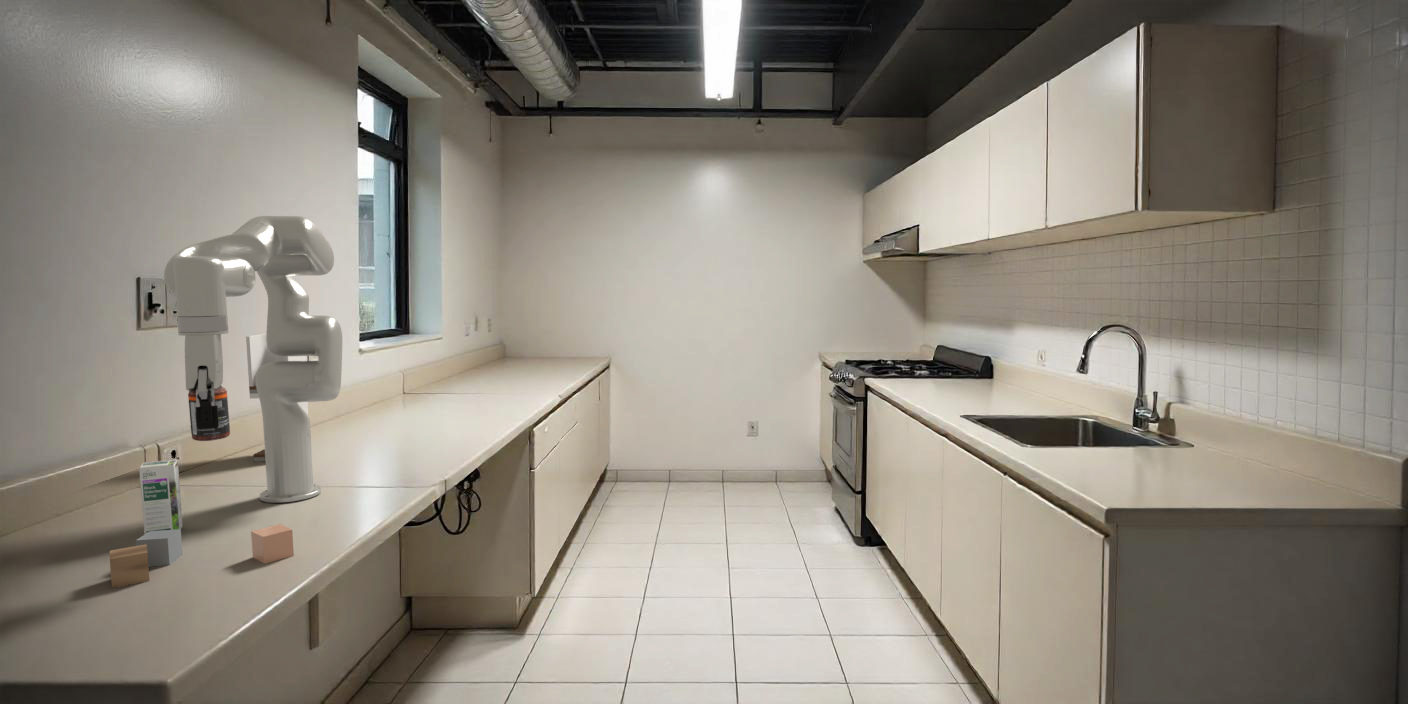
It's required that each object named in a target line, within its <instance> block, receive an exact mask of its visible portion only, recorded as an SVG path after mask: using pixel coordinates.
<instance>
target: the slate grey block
mask: <svg viewBox="0 0 1408 704" xmlns="http://www.w3.org/2000/svg"><path fill="white" fill-rule="evenodd" d="M145 544H147V553H148V566H149V568H151V567H160V566H161V567H163V566H170V565H172V564H173V563H174V562H175V561H177V560H178V559H180V558H181V557H182V556H183V543H182V529H176V530H161V531H149V532H148V533H146V534H145V535H144V534H143V535H142V536H140V537H139V538H137V539H135V546H139V545H145ZM180 556H181V557H180Z"/></svg>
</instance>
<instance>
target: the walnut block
mask: <svg viewBox="0 0 1408 704" xmlns="http://www.w3.org/2000/svg"><path fill="white" fill-rule="evenodd" d="M109 567H110V576H111V577H110V578H111V588H112V589H115V588H120V587H124V586H123V585H125V586H129V585H128V584H130V585H135V584H139V582H140V583H144V581H145V582H149V581H150V571H149V569H150V567H149V566H148V553H147V544H145V545H139V546H136V545H135V546H128V547H124V548H117V549H112V550H109ZM134 583H135V584H134ZM119 586H120V587H119ZM114 587H115V588H114Z"/></svg>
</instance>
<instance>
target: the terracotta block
mask: <svg viewBox="0 0 1408 704" xmlns="http://www.w3.org/2000/svg"><path fill="white" fill-rule="evenodd" d="M250 533H251V535H250V537H251V549H252V551H251V552H252V558H253V559H255V560H257V561H259V562H261V563H262V564H263V565H264V564H268V563H272V562H275V561H279V560H282V559H286V558H290V557H291V558H292V557H293V556H295V553H294V541H293V540H294V537H293V529H292V528H289V527H287V526H285V525H284V524H283V525H282V524H275V525H271V526H268V527H264V528H263V527H262V528H258V529H256V530H251V531H250Z"/></svg>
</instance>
